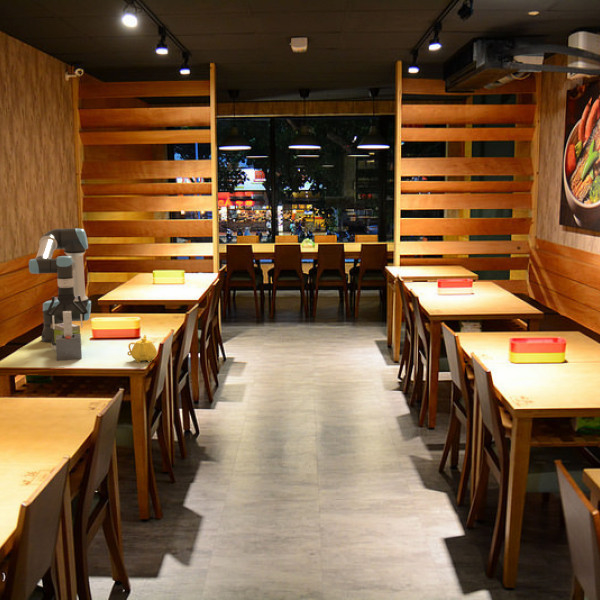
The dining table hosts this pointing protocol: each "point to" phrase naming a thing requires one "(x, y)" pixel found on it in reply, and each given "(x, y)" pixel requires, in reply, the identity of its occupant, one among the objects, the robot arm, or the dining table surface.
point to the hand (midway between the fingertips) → (67, 327)
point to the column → (67, 323)
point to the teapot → (143, 350)
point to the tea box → (61, 332)
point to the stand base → (68, 347)
